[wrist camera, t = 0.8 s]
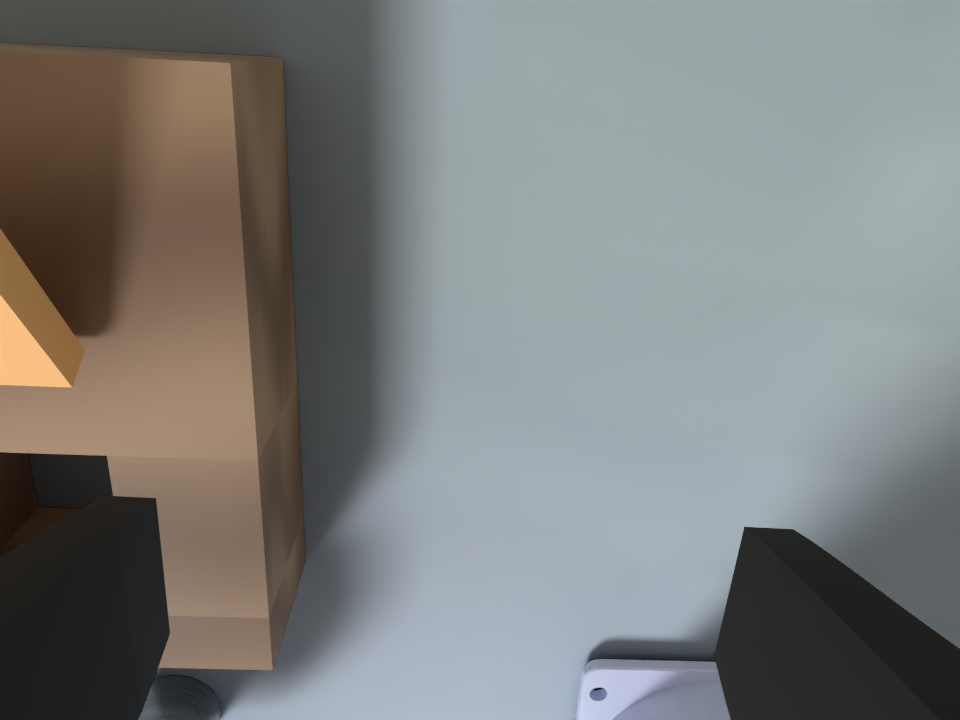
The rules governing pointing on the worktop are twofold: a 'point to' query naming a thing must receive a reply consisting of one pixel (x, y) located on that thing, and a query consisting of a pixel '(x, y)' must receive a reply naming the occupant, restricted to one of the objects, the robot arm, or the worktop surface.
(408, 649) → the worktop surface
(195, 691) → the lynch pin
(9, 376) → the block
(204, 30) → the worktop surface
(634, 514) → the worktop surface
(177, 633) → the hitch block
